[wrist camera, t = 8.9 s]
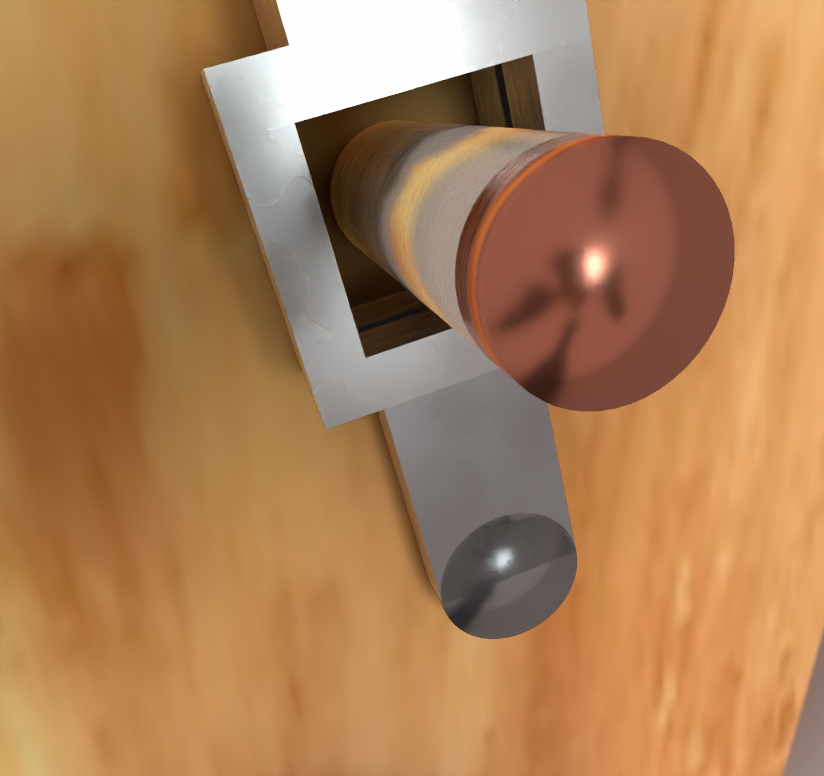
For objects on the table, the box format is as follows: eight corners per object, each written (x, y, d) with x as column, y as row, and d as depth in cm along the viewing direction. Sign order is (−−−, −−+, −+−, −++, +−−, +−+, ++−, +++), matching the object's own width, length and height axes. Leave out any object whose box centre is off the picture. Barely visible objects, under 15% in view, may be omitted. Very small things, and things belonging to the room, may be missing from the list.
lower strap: (605, 556, 23) (633, 586, 22) (394, 643, 22) (409, 680, 21) (505, -7, 17) (535, -18, 15) (200, 76, 16) (201, 73, 14)
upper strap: (557, 285, 20) (630, 321, 16) (302, 373, 19) (326, 430, 15) (466, -224, 15) (542, -313, 12) (124, -147, 14) (104, -223, 11)
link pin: (474, 237, 19) (743, 362, 10) (352, 276, 18) (513, 447, 9) (444, 103, 17) (724, 101, 8) (312, 141, 17) (455, 185, 8)
